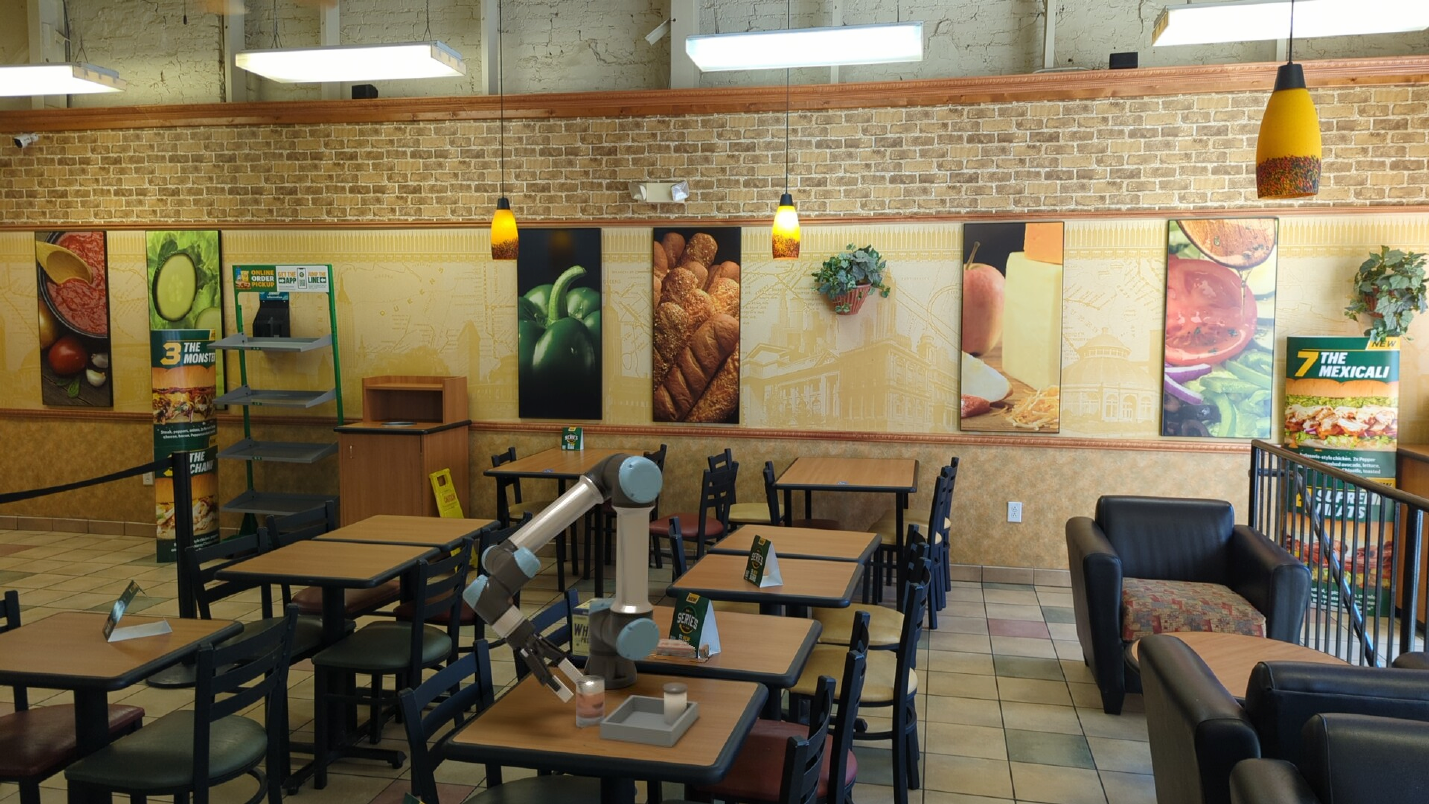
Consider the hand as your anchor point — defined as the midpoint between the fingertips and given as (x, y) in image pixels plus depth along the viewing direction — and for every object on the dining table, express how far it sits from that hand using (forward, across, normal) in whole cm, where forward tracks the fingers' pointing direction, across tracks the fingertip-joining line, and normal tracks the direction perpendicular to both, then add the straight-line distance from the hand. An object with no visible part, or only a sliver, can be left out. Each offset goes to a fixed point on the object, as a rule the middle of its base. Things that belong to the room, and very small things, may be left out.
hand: (574, 689), depth 245 cm
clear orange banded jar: (+9, -1, -4) cm, 10 cm away
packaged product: (+22, -56, +9) cm, 61 cm away
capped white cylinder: (+23, -1, +12) cm, 26 cm away
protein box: (+4, -57, -9) cm, 58 cm away
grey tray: (+20, +3, +7) cm, 21 cm away
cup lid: (+18, -1, +18) cm, 25 cm away
